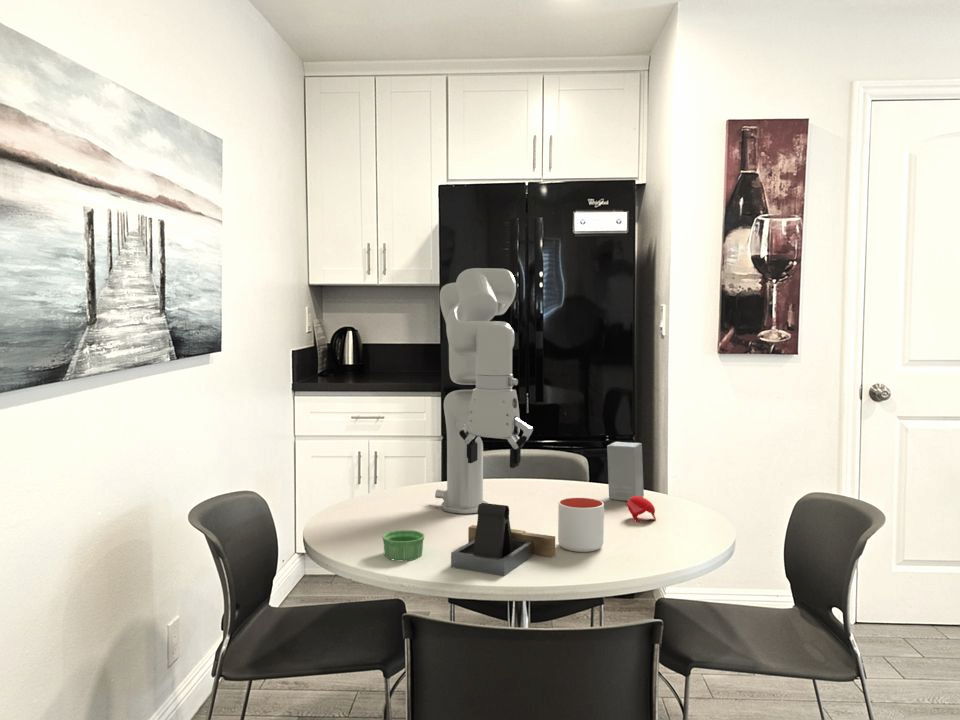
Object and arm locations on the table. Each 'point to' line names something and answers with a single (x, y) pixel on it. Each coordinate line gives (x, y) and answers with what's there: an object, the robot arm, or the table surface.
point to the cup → (580, 524)
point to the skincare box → (625, 470)
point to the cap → (640, 507)
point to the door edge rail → (542, 543)
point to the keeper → (491, 565)
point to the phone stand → (493, 531)
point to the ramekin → (403, 544)
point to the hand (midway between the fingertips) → (493, 464)
